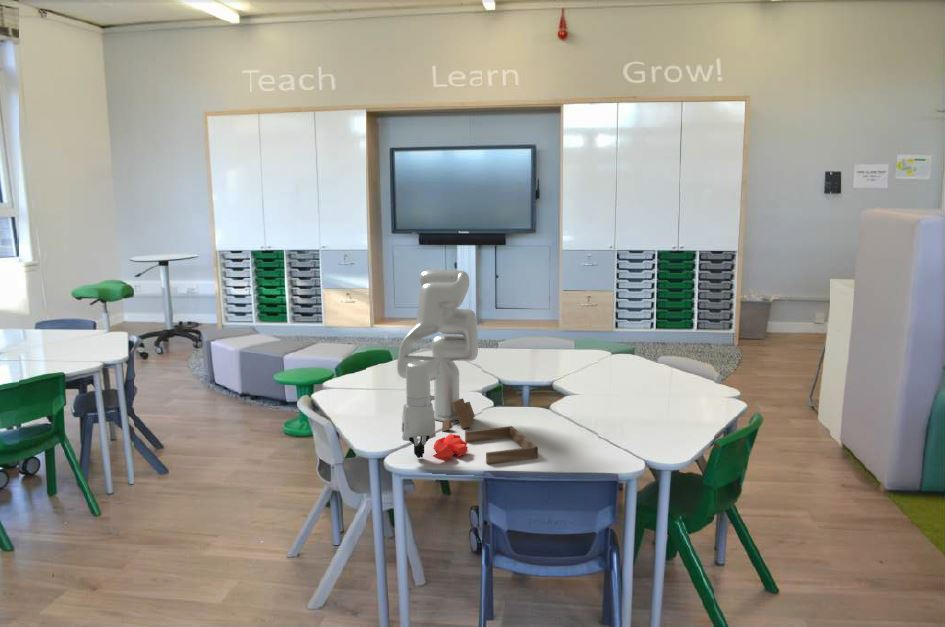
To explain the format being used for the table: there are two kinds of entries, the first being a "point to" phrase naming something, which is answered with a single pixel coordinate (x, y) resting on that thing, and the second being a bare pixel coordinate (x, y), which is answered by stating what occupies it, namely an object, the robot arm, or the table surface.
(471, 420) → the wooden block set
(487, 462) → the frame
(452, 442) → the animal figurine
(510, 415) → the table surface
